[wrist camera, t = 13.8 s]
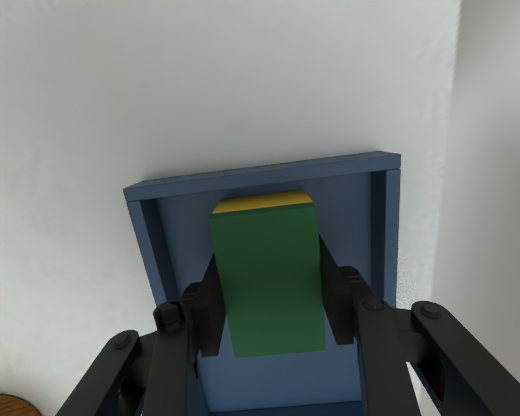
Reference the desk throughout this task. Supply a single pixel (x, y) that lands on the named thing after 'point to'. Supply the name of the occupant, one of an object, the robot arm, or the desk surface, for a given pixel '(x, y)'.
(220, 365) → the tray
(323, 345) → the sponge
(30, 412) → the disposable coffee cup
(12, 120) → the desk surface
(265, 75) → the desk surface
